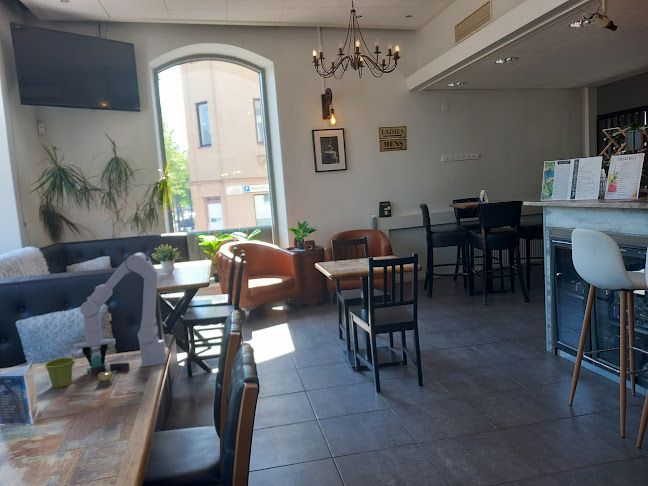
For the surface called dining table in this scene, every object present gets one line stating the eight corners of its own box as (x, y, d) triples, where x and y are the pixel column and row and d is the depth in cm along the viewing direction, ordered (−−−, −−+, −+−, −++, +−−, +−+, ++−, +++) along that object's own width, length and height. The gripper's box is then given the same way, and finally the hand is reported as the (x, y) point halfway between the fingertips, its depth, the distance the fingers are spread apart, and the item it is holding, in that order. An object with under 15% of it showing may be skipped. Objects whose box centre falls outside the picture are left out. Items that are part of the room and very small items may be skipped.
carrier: (130, 368, 190) (128, 356, 189) (125, 382, 176) (123, 368, 175) (91, 374, 186) (90, 361, 186) (83, 388, 172) (81, 374, 172)
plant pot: (82, 379, 181) (79, 356, 180) (66, 389, 172) (63, 366, 171) (58, 380, 182) (55, 357, 181) (41, 390, 173) (38, 367, 172)
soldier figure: (52, 373, 193) (61, 355, 204) (63, 379, 195) (71, 361, 206) (63, 360, 192) (71, 342, 203) (74, 366, 194) (82, 348, 205)
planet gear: (110, 364, 196) (108, 352, 195) (107, 371, 189) (105, 358, 188) (89, 367, 194) (88, 355, 193) (85, 374, 187) (84, 361, 186)
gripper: (114, 325, 195) (118, 358, 197) (75, 330, 192) (79, 364, 193) (112, 330, 189) (116, 364, 190) (71, 335, 185) (75, 370, 186)
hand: (97, 364), depth 191 cm, fingers closed on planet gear, 4 cm apart
